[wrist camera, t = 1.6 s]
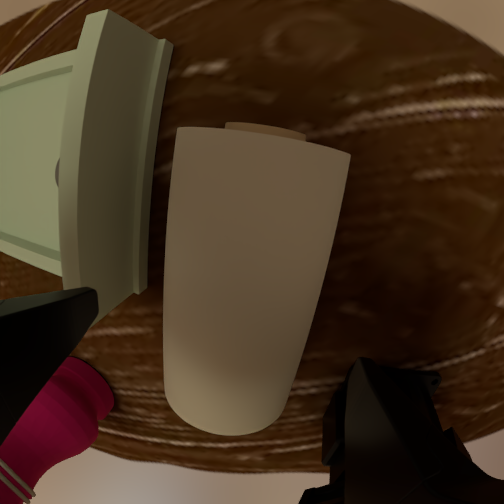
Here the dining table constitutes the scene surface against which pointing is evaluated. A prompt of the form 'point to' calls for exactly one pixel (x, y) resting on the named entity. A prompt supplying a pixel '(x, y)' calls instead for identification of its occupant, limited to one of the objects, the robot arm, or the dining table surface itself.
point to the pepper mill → (53, 428)
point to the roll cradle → (84, 158)
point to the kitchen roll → (244, 268)
